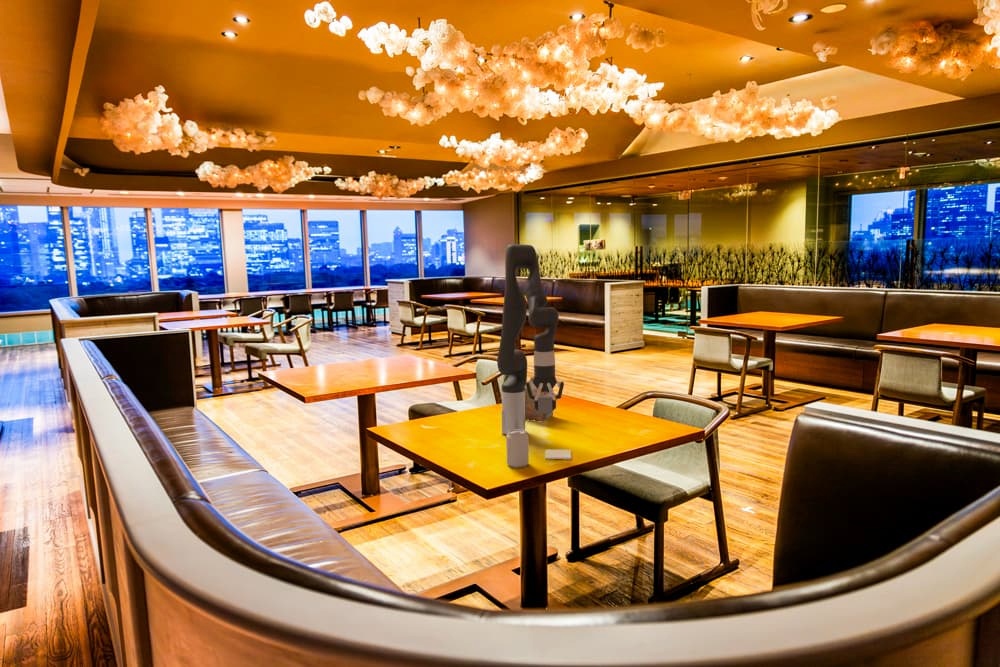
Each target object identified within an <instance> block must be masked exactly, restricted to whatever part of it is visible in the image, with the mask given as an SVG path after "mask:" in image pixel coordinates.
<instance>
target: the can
mask: <svg viewBox="0 0 1000 667" xmlns="http://www.w3.org/2000/svg"><path fill="white" fill-rule="evenodd" d="M505 436H506V437H505V438H506V440H505V442H506V463H507V465H508V466H509V467H511V468H516V469H517V468H518V469H519V468H524V467H526V466H527V465H528V464H529V463H530V462H529V452H530V451H529V450H530V449H529V434H527V430H526V429H525V430H523V429H512V430H509V431H508V434H507V435H505Z"/></svg>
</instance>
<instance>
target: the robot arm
mask: <svg viewBox="0 0 1000 667" xmlns="http://www.w3.org/2000/svg"><path fill="white" fill-rule="evenodd" d="M504 260H505V261H504V263H505V264H504V265H505V267H504V268H505V269H504V270H505V273H504V274H505V275H504V276H505V278H504V279H505V286H504V296H503V304H502V305H503V307H502V322H501V335H500V342H499V346H498V352H497V363H496V364H497V369H498V371H499V373H500V374H501V375H503V376H508V377H507V379H506V380H505V381H504V382H503V383H501V384H502V385H501V434H502V435H505V436H507V434H508V431H509V430H512V429H523V430H525V431H526V420H525V385H526V387H527V391H528V394H529V398H530V399H533V400H534V401H535V409H537V411H538V397H539V395H540V392H545V391H546V392H549V391H550V394H551V396H552V411H553V412H554V411H555V410H556V409H557V400H558V399H561V398H562V394H563V390H564V387H565V382H564V381H563V380H562V381H560V380H557V379H556V356H555V355H556V354H555V334H556V330H557V326H558V322H559V312H558V310H557V309H556V308H555V307H553V306H547V304H548V296H547V295H546V292H545V289H544V286H543V283H542V279H541V278H542V277H541V274H540V273H541V271H540V266H539V260H538V255H537V252H536V249H535V247H534V246H533V245H531V244H521V243H520V244H518V243H510V244H509V245H508V246H507V248H506V251H505V259H504ZM517 269H519V270H520V269H523V270H526V269H527V270H528V271H529V274H528V277H527V278H526V281H525V283H524V287H523V288H524V290H523V291H524V292H523V291H522V289H521V287H520V285H519V282H518V280H517ZM546 306H547V307H546ZM527 312H528V323H529V325H530V326H531V327H533V328H534V329H535V328H537V329H539V328H540V329H541V328H546V329H545V331H544V332H541V333H538V334H535V335H534V339H533V349H534V350H533V376H534V380H533V381H532V382H528V359H527V355H526V354H525V353H524V351H522V350H520V349H516V343H517V340H518V337H519V335H520V333H521V332H522V330H523V328H524V326H525V324H526V320H527ZM533 384H534V385H535V387H536V388H537V392H536V395H535V396H534V395H533V394H532V391H531V388H532V385H533ZM556 385H557V387H558V392H557V394H555V391H554V387H555V386H556Z"/></svg>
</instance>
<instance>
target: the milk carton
mask: <svg viewBox="0 0 1000 667" xmlns="http://www.w3.org/2000/svg"><path fill="white" fill-rule="evenodd" d="M533 380H534V375H533V376H530V378H529V380H527V382H532V381H533ZM531 391H532V394H533V395H534V396H535V395H536V392H537V388H536V387H535V385H534V384H533V385H532V388H531ZM539 397H552V396H551V394H550V391H549V392H546V391H545V392H540V395H539ZM552 416H553V417H554V411H552V414H538V411H537V409H535V401H534V400H533V399H530V398H529V394H528V391H527V387H526V385H525V419H529V420H528V421H531V420H535V421H534V422H538V421H541V423H543V422H544V420H545V421H547V420H549V419H551V418H553V417H552ZM550 417H551V418H550ZM548 418H549V419H548ZM546 419H547V420H546ZM542 421H543V422H542Z"/></svg>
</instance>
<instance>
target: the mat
mask: <svg viewBox="0 0 1000 667" xmlns="http://www.w3.org/2000/svg"><path fill="white" fill-rule="evenodd" d="M544 451H545V452H544V453H545V454H544V455H545V456H544V458H545V459H547V460H546V461H548V460H549V459H564V460H563V461H569V460H570V461H572V453H571V449H545V450H544ZM566 459H567V460H566ZM549 461H550V460H549Z"/></svg>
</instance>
